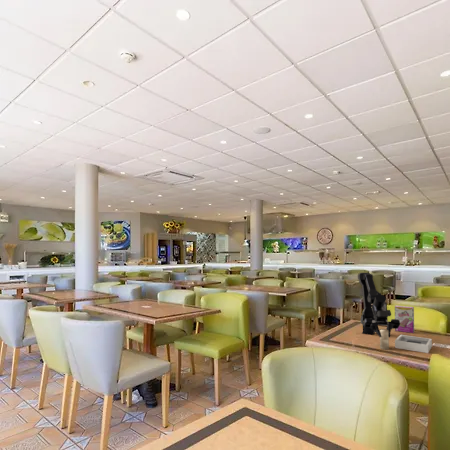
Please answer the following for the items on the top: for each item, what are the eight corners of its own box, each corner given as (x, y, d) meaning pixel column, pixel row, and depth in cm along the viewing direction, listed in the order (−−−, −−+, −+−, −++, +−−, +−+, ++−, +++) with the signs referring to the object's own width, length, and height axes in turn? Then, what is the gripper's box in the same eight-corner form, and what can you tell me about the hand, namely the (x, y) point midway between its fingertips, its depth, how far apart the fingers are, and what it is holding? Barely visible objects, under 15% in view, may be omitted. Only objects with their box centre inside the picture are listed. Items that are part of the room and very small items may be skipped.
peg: (379, 348, 192) (378, 330, 193) (381, 346, 196) (380, 328, 196) (387, 350, 190) (387, 331, 190) (389, 348, 193) (389, 329, 194)
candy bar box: (394, 331, 231) (394, 306, 232) (395, 329, 235) (395, 305, 236) (414, 333, 225) (413, 307, 226) (414, 331, 229) (413, 306, 230)
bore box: (395, 347, 194) (394, 340, 194) (400, 341, 206) (400, 334, 207) (428, 353, 184) (427, 345, 184) (431, 346, 197) (431, 338, 197)
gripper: (364, 304, 199) (369, 328, 188) (398, 304, 197) (406, 329, 185) (360, 315, 207) (366, 339, 195) (394, 316, 204) (401, 340, 193)
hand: (385, 336), depth 192 cm, fingers closed on peg, 4 cm apart
